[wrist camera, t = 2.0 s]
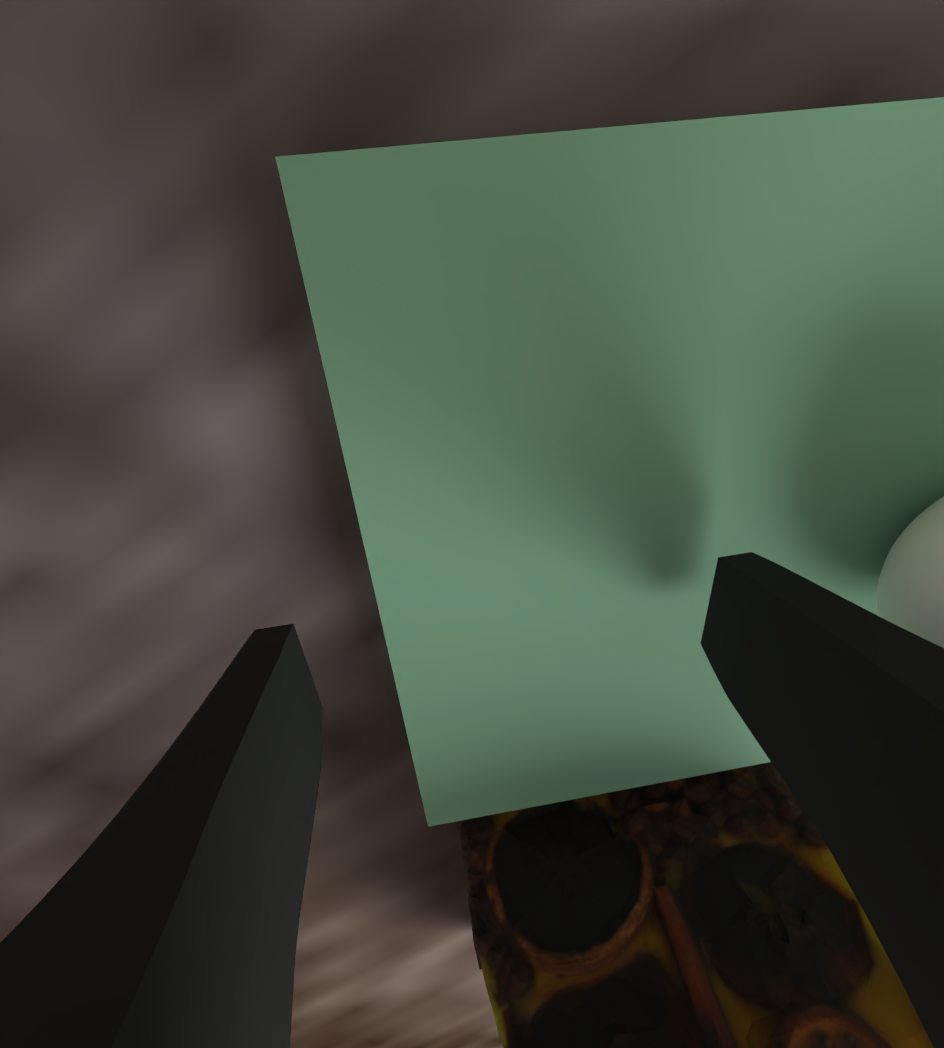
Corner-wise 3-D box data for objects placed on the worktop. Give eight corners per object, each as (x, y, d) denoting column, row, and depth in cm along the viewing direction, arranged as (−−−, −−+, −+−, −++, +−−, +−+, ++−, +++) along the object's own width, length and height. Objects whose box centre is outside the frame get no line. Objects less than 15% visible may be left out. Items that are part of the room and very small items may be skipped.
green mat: (1660, 39, 10) (1929, 9, 8) (1174, 621, 17) (1260, 668, 16) (298, 162, 8) (275, 157, 6) (422, 756, 15) (428, 826, 14)
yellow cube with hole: (450, 795, 17) (522, 1409, 8) (764, 722, 17) (1135, 1240, 9) (494, 932, 22) (563, 1384, 14) (730, 875, 23) (936, 1281, 14)
